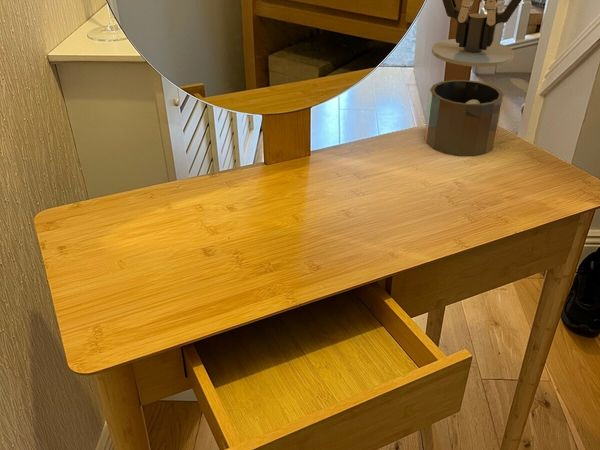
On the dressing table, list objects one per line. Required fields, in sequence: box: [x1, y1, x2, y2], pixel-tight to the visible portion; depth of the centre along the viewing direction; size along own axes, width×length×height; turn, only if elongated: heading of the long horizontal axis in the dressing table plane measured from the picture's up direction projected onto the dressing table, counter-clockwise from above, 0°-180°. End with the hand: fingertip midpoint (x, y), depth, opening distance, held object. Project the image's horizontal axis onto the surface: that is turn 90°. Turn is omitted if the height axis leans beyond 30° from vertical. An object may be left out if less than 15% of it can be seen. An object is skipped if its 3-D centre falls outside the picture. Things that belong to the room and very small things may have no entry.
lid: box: [431, 12, 515, 68], centre depth 96 cm, size 12×12×6 cm
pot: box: [423, 79, 504, 157], centre depth 103 cm, size 11×11×10 cm
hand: (473, 46), depth 97 cm, fingers closed on lid, 3 cm apart
